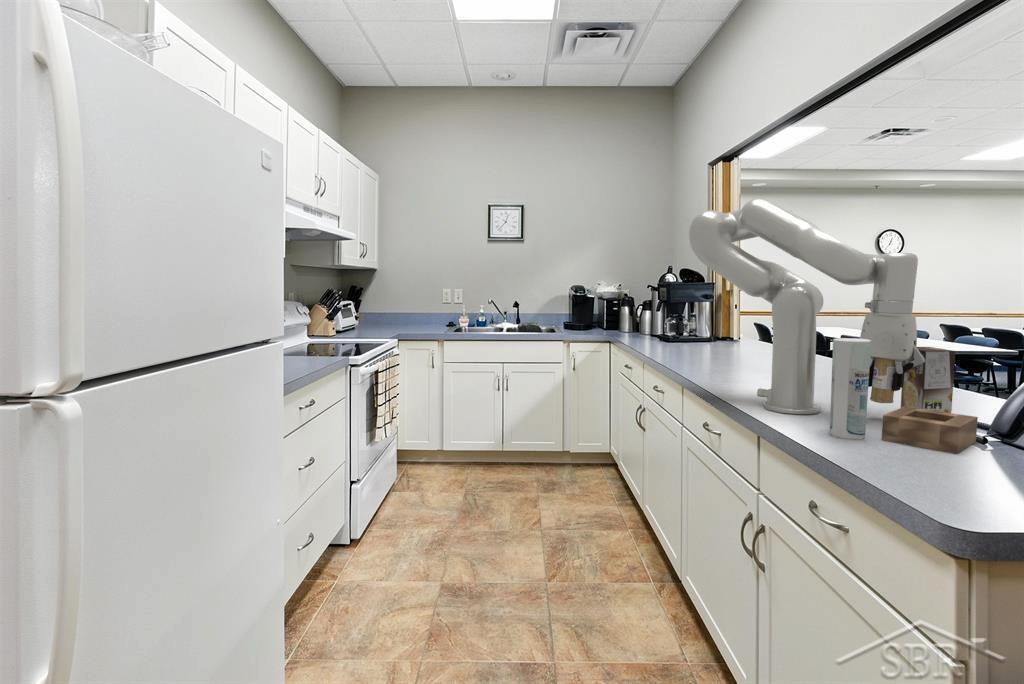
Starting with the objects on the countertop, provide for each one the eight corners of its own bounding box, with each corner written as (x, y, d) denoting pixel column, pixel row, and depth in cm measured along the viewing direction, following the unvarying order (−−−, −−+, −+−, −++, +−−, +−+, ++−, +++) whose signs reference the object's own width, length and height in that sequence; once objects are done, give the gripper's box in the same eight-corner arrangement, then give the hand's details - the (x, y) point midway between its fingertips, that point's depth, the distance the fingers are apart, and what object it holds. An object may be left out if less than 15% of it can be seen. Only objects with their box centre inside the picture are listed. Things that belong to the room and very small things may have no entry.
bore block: (881, 439, 106) (882, 415, 105) (903, 429, 113) (904, 406, 112) (957, 454, 96) (959, 427, 96) (975, 441, 103) (977, 416, 103)
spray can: (841, 429, 114) (845, 337, 112) (872, 436, 108) (878, 339, 106) (822, 433, 111) (826, 339, 109) (853, 441, 105) (858, 341, 103)
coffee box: (952, 421, 119) (957, 350, 117) (921, 420, 120) (926, 350, 118) (926, 411, 128) (931, 346, 126) (898, 411, 129) (902, 346, 127)
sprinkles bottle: (864, 399, 123) (870, 342, 121) (882, 399, 123) (889, 342, 121) (880, 404, 118) (886, 345, 116) (899, 404, 119) (905, 345, 117)
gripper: (843, 306, 122) (835, 383, 125) (932, 311, 109) (922, 397, 111) (856, 306, 127) (849, 380, 129) (943, 310, 113) (933, 393, 116)
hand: (883, 387), depth 120 cm, fingers closed on sprinkles bottle, 4 cm apart
